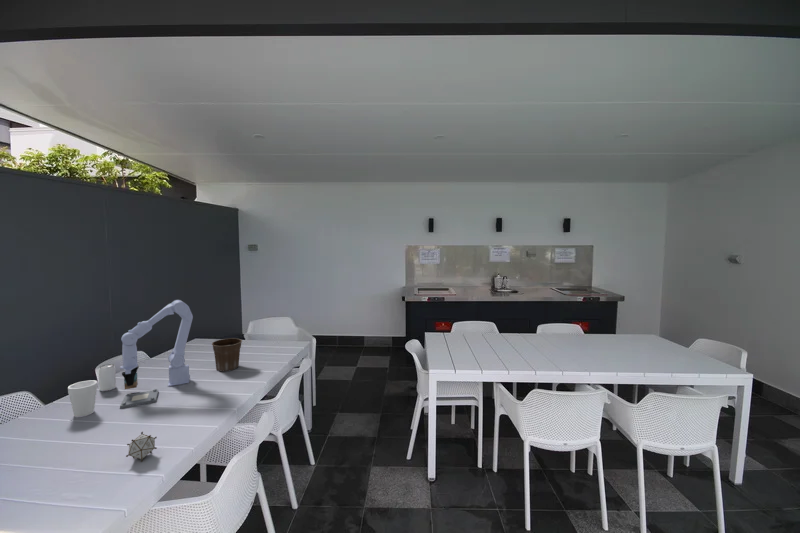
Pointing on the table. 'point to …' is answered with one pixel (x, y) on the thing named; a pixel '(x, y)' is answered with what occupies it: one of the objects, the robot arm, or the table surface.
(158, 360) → the table surface
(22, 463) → the table surface
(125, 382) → the teal and brown block
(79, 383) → the foam cup
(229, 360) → the plant pot
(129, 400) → the plate
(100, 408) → the table surface
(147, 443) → the game die
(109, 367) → the grey cylinder
